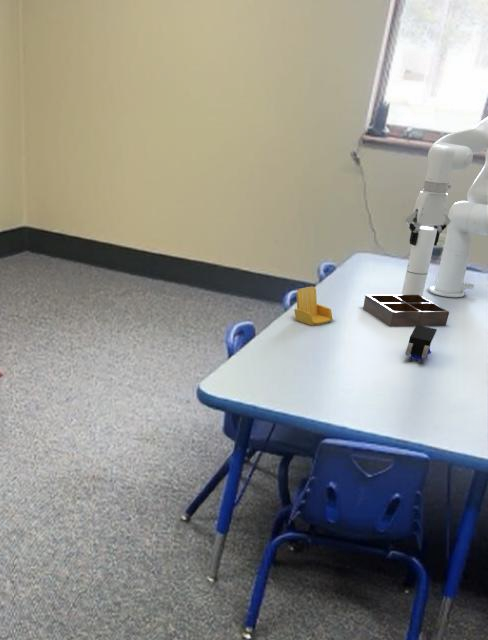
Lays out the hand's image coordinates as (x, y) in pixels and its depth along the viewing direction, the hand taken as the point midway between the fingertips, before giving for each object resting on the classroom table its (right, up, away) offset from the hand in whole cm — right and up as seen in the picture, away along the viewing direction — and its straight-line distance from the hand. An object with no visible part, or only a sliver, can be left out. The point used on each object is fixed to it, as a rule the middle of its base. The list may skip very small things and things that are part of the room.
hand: (423, 244), depth 272 cm
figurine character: (-14, -48, -41) cm, 64 cm away
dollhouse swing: (-40, -30, -15) cm, 53 cm away
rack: (-8, -26, -5) cm, 28 cm away
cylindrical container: (-1, -17, +11) cm, 20 cm away
